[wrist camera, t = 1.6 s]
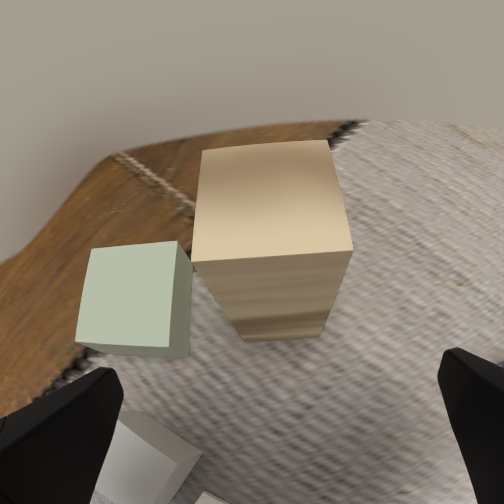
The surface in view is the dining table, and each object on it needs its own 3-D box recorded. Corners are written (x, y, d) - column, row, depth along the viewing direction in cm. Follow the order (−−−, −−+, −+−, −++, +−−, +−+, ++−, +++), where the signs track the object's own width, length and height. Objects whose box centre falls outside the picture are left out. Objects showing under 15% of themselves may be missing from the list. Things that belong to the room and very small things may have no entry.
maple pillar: (319, 336, 19) (353, 250, 9) (244, 341, 20) (191, 261, 9) (312, 268, 22) (327, 140, 11) (243, 273, 22) (202, 150, 12)
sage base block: (189, 357, 20) (168, 346, 16) (105, 353, 21) (75, 341, 17) (194, 267, 23) (177, 240, 20) (116, 271, 24) (92, 248, 20)
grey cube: (170, 502, 15) (138, 522, 10) (114, 461, 16) (73, 468, 12) (203, 451, 17) (178, 463, 12) (144, 411, 18) (106, 409, 14)
